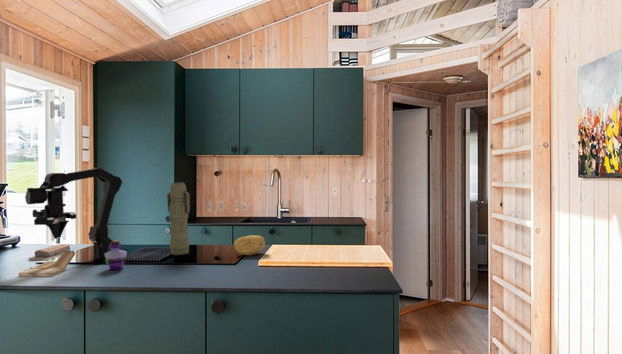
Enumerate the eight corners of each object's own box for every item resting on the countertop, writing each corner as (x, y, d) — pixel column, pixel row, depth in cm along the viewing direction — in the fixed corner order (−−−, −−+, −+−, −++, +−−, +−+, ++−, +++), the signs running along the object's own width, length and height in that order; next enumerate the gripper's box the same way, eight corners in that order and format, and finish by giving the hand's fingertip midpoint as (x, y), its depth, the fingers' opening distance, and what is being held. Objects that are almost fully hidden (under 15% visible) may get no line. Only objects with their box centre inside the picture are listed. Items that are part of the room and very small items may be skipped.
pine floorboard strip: (64, 271, 171) (63, 267, 171) (52, 276, 164) (52, 271, 164) (31, 271, 171) (31, 267, 171) (18, 276, 164) (18, 271, 164)
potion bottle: (99, 270, 172) (99, 242, 172) (116, 265, 180) (115, 238, 180) (115, 272, 169) (114, 243, 168) (131, 267, 177) (130, 239, 176)
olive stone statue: (173, 250, 209) (171, 182, 208) (194, 251, 207) (193, 182, 205) (163, 254, 200) (162, 183, 199) (186, 255, 198) (184, 183, 197)
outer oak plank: (58, 264, 181) (58, 261, 180) (43, 271, 171) (43, 268, 171) (47, 264, 181) (47, 261, 181) (32, 271, 172) (32, 268, 172)
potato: (263, 256, 193) (263, 236, 193) (233, 257, 193) (232, 237, 193) (266, 252, 203) (266, 233, 203) (237, 252, 204) (237, 233, 203)
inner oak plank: (75, 253, 179) (74, 251, 178) (64, 270, 172) (63, 267, 171) (64, 253, 179) (63, 251, 178) (53, 270, 172) (51, 267, 171)
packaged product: (55, 243, 210) (74, 243, 209) (56, 252, 210) (74, 253, 209) (28, 250, 192) (47, 251, 191) (28, 261, 192) (48, 261, 191)
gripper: (53, 200, 187) (54, 234, 188) (20, 204, 168) (22, 242, 169) (76, 199, 186) (77, 234, 187) (46, 204, 167) (48, 242, 168)
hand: (57, 238), depth 178 cm, fingers closed
